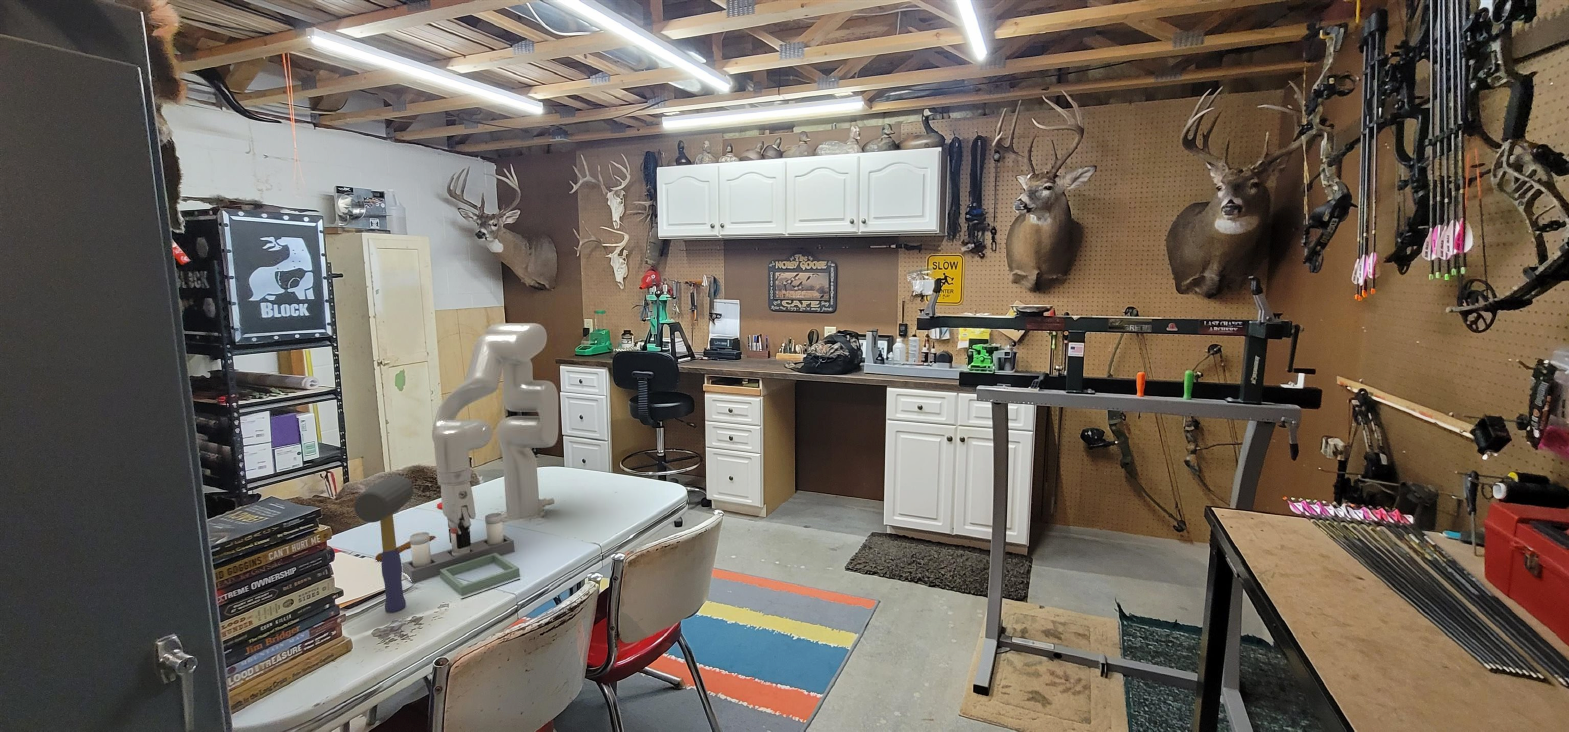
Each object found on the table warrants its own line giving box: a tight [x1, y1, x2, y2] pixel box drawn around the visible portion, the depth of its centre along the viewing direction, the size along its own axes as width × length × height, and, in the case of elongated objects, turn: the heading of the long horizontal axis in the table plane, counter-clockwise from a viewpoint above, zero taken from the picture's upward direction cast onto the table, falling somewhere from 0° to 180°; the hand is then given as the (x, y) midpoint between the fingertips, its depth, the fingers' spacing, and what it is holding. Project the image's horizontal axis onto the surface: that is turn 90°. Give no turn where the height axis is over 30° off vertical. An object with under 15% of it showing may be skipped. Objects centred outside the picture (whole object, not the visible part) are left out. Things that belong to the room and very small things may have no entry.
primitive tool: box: [375, 535, 437, 563], centre depth 178 cm, size 19×6×4 cm, turn 176°
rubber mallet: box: [353, 475, 415, 613], centre depth 143 cm, size 12×8×30 cm, turn 5°
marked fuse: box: [448, 518, 470, 557], centre depth 167 cm, size 4×4×10 cm
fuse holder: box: [401, 533, 515, 584], centre depth 168 cm, size 25×7×4 cm, turn 136°
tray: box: [439, 553, 521, 601], centre depth 159 cm, size 14×14×3 cm
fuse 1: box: [409, 531, 432, 569], centre depth 161 cm, size 4×4×10 cm
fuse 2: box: [484, 512, 504, 546], centre depth 173 cm, size 4×4×10 cm
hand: (460, 543), depth 167 cm, fingers closed on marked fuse, 4 cm apart
